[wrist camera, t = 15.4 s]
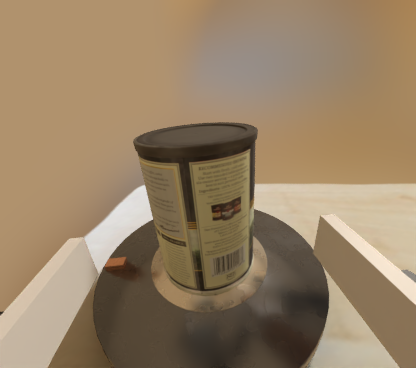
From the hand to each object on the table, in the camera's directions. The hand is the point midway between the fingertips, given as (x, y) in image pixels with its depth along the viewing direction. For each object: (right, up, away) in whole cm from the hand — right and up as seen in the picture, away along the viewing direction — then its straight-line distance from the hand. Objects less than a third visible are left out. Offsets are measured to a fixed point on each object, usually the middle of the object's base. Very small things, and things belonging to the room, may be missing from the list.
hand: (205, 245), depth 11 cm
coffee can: (0, -5, +11) cm, 13 cm away
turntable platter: (0, -6, +12) cm, 14 cm away
